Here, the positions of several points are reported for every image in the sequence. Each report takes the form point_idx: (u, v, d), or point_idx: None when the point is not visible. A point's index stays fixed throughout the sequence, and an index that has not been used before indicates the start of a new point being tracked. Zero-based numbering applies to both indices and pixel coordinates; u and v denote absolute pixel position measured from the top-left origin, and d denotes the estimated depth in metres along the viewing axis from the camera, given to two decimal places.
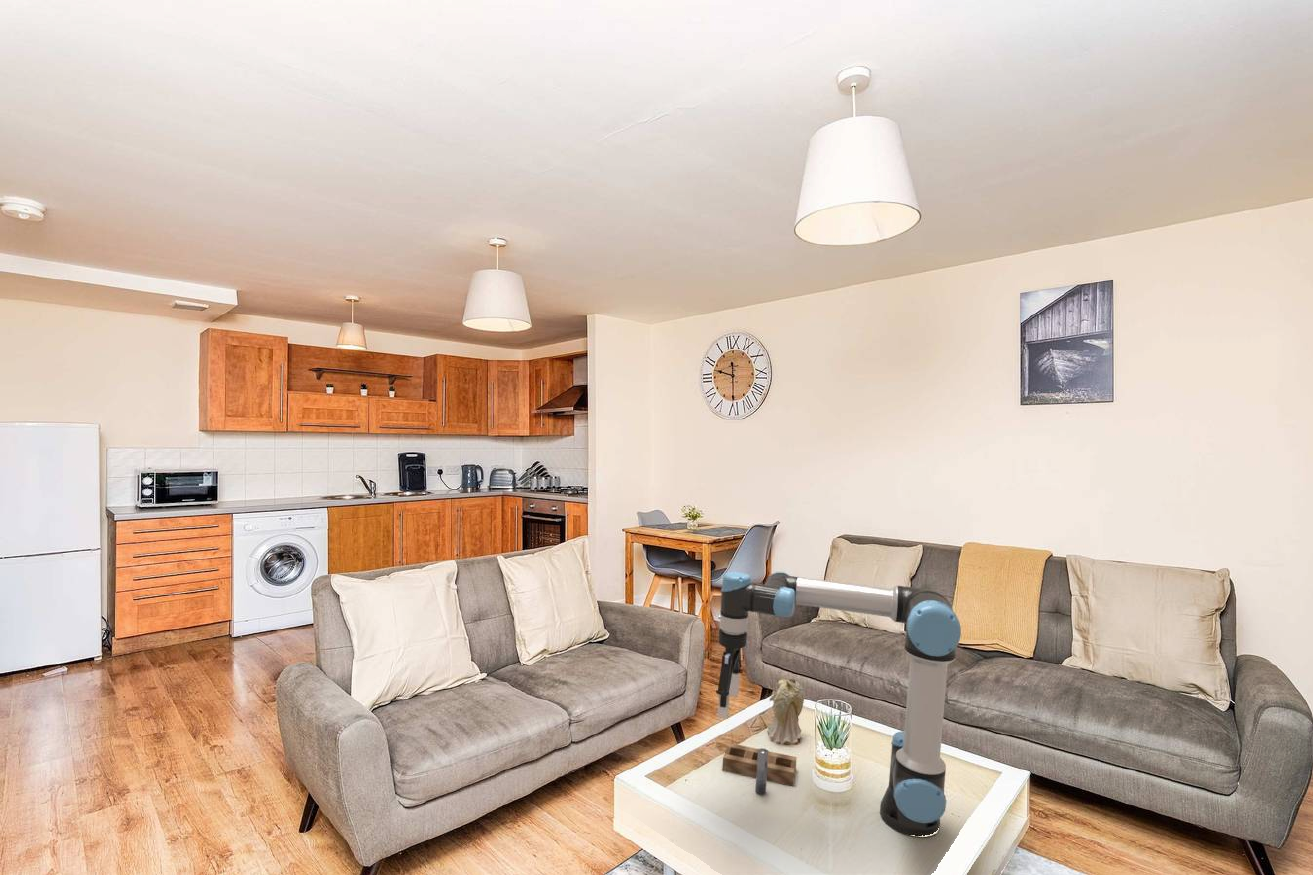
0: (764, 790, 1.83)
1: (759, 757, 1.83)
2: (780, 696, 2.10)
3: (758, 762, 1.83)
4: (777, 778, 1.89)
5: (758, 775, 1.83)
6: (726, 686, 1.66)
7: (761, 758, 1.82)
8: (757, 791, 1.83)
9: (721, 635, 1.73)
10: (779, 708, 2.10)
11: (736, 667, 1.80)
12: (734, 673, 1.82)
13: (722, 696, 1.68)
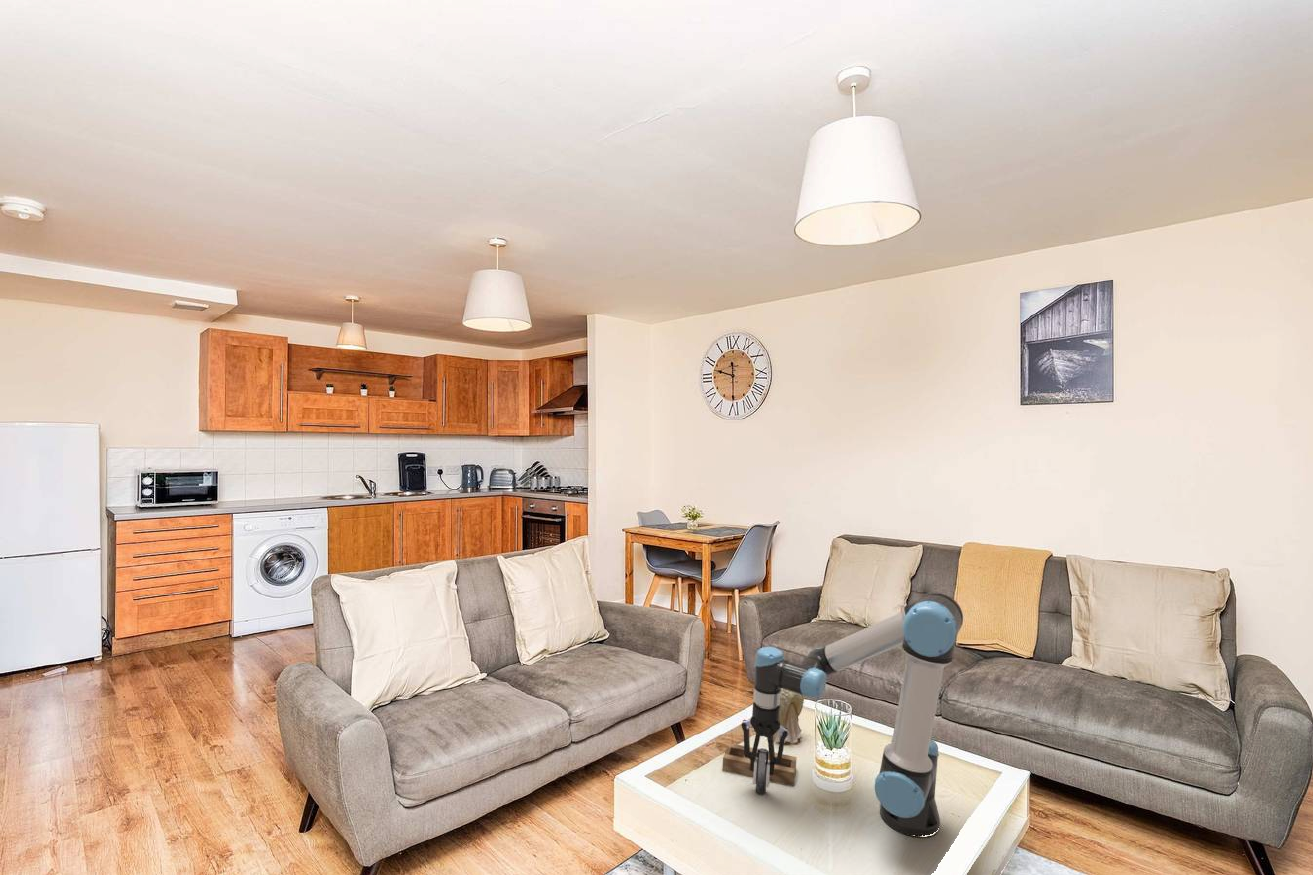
0: (764, 790, 1.83)
1: (759, 757, 1.83)
2: (780, 696, 2.10)
3: (758, 762, 1.83)
4: (777, 778, 1.89)
5: (758, 775, 1.83)
6: (744, 749, 1.84)
7: (761, 758, 1.82)
8: (757, 791, 1.83)
9: None
10: None
11: (769, 752, 1.83)
12: (769, 762, 1.83)
13: None
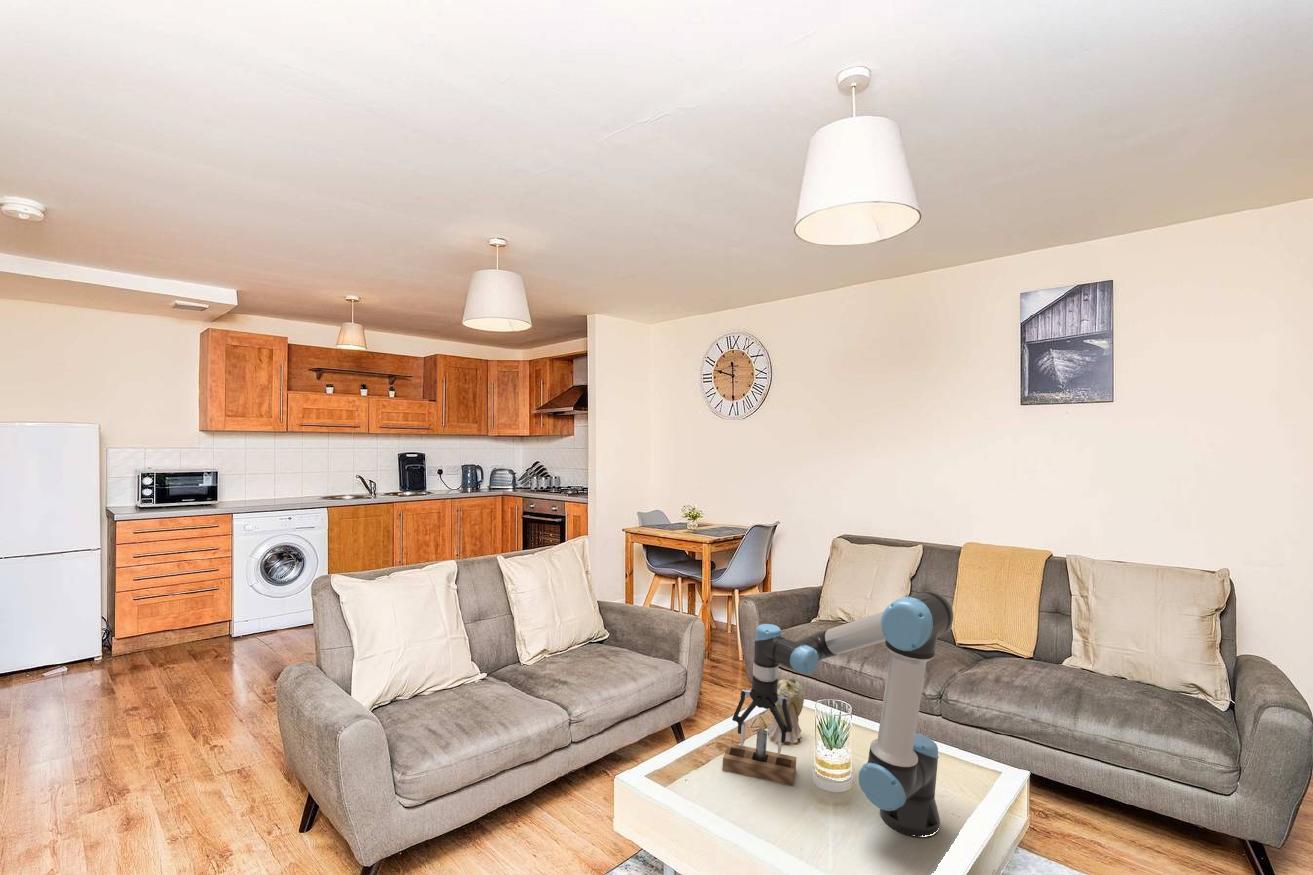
0: None
1: (758, 737, 1.94)
2: (780, 696, 2.10)
3: (757, 742, 1.94)
4: (777, 778, 1.89)
5: (757, 754, 1.94)
6: (734, 713, 1.96)
7: (760, 738, 1.93)
8: None
9: None
10: (779, 708, 2.10)
11: None
12: (780, 730, 1.93)
13: None
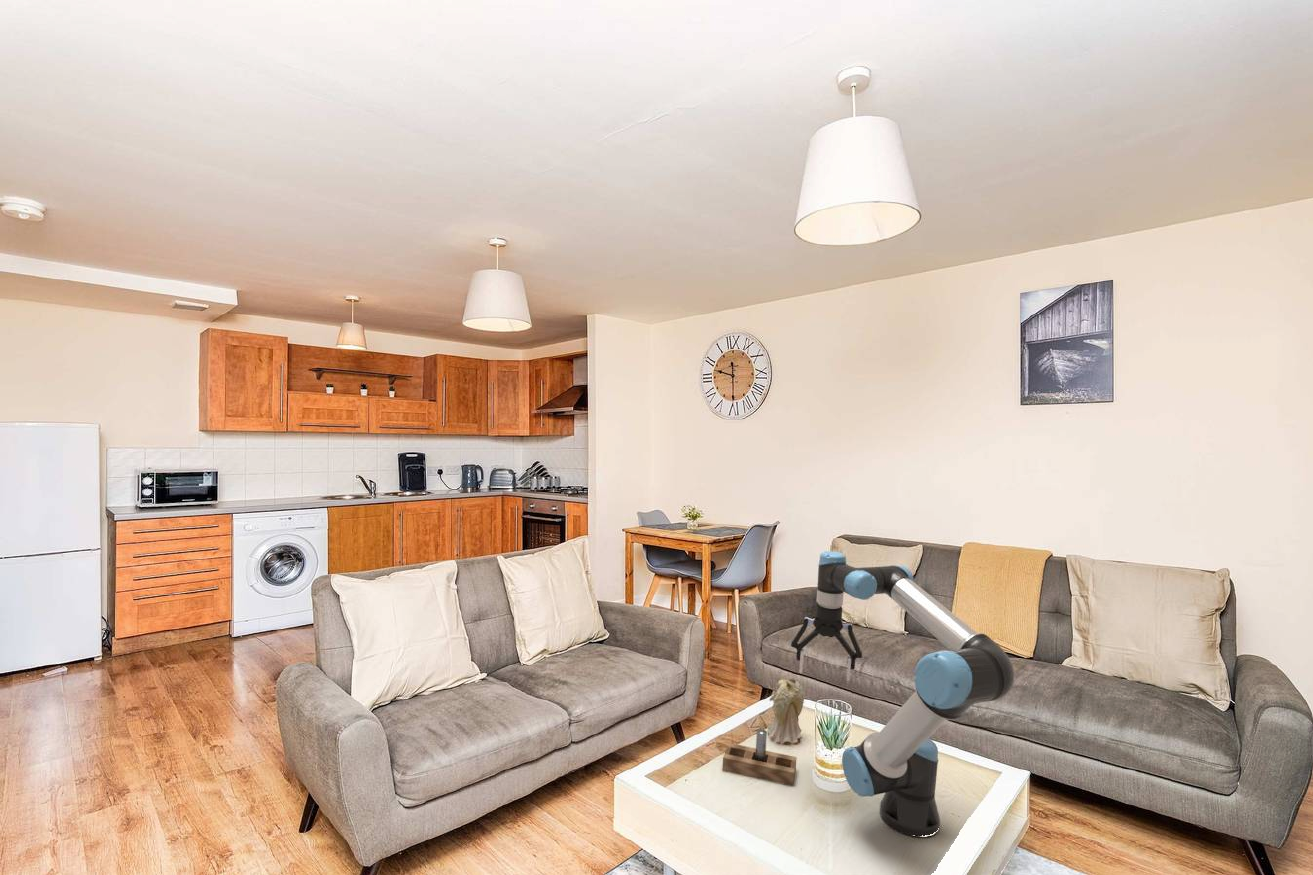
0: None
1: (758, 737, 1.94)
2: (780, 696, 2.10)
3: (757, 742, 1.94)
4: (777, 778, 1.89)
5: (757, 754, 1.94)
6: (794, 639, 1.92)
7: (760, 738, 1.93)
8: None
9: None
10: (779, 708, 2.10)
11: None
12: (849, 657, 1.88)
13: None
